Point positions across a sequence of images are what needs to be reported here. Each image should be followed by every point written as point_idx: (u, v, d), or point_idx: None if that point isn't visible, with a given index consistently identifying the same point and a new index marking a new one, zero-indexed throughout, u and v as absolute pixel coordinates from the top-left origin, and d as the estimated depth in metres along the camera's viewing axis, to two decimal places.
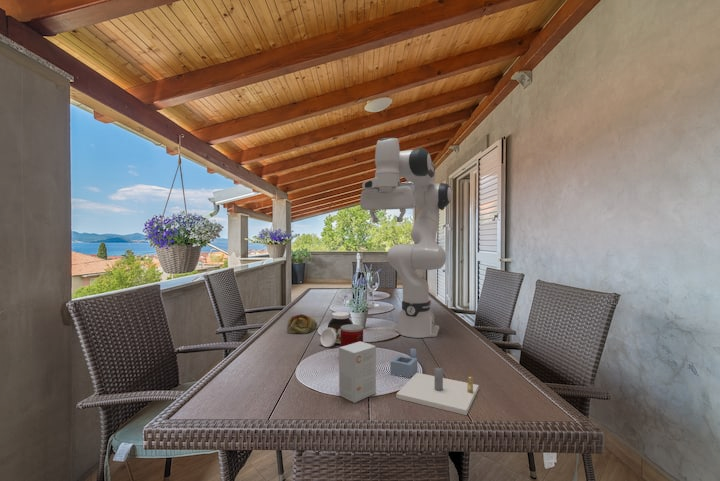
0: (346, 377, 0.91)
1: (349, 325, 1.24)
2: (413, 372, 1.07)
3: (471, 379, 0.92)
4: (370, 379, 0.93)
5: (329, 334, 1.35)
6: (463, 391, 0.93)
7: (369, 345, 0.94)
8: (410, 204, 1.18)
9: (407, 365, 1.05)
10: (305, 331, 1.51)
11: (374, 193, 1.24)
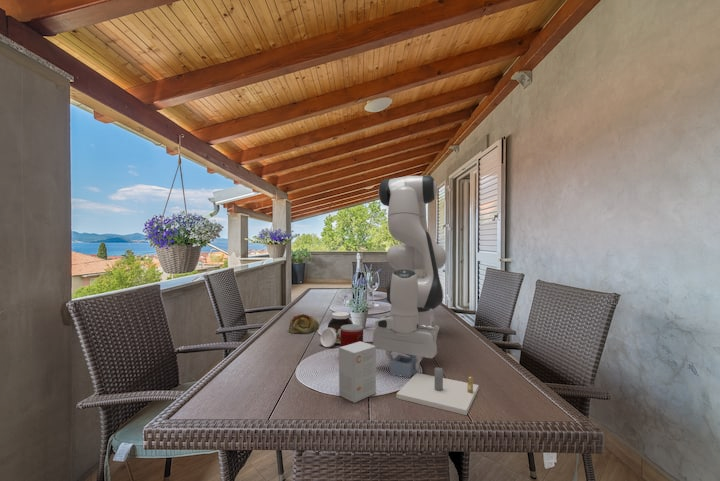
0: (346, 377, 0.91)
1: (349, 325, 1.24)
2: (413, 372, 1.07)
3: (471, 379, 0.92)
4: (370, 379, 0.93)
5: (329, 334, 1.35)
6: (463, 391, 0.93)
7: (369, 345, 0.95)
8: (431, 354, 1.03)
9: (407, 365, 1.05)
10: (307, 331, 1.51)
11: (388, 333, 1.09)
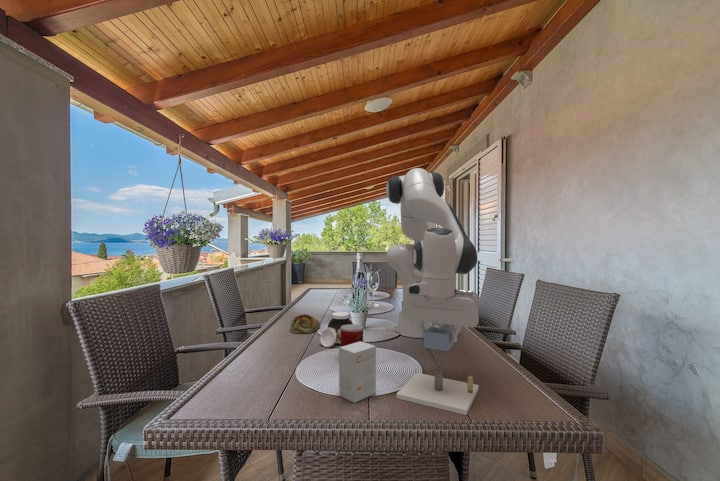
0: (346, 377, 0.91)
1: (349, 325, 1.24)
2: (450, 345, 0.92)
3: (471, 379, 0.92)
4: (370, 379, 0.93)
5: (329, 334, 1.35)
6: (463, 391, 0.93)
7: (369, 345, 0.94)
8: (472, 323, 0.88)
9: (444, 336, 0.90)
10: (309, 331, 1.51)
11: (421, 300, 0.94)
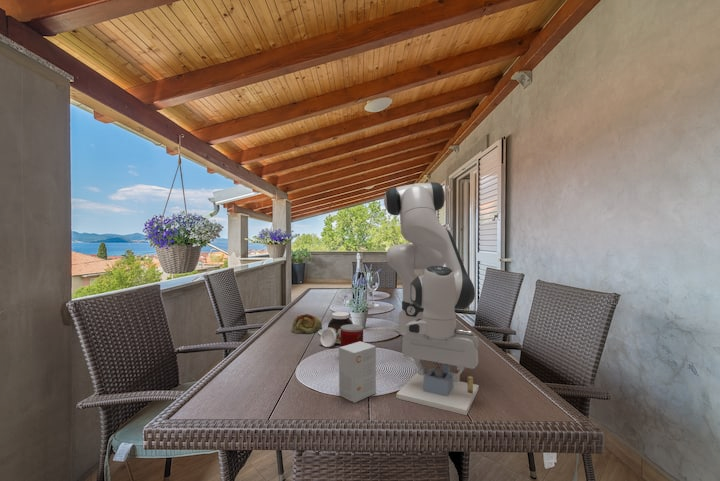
0: (346, 377, 0.91)
1: (349, 325, 1.24)
2: (450, 389, 0.93)
3: (471, 379, 0.92)
4: (370, 379, 0.93)
5: (329, 334, 1.35)
6: (463, 391, 0.93)
7: (369, 345, 0.95)
8: (472, 364, 0.88)
9: (444, 381, 0.90)
10: (311, 331, 1.51)
11: (421, 339, 0.95)
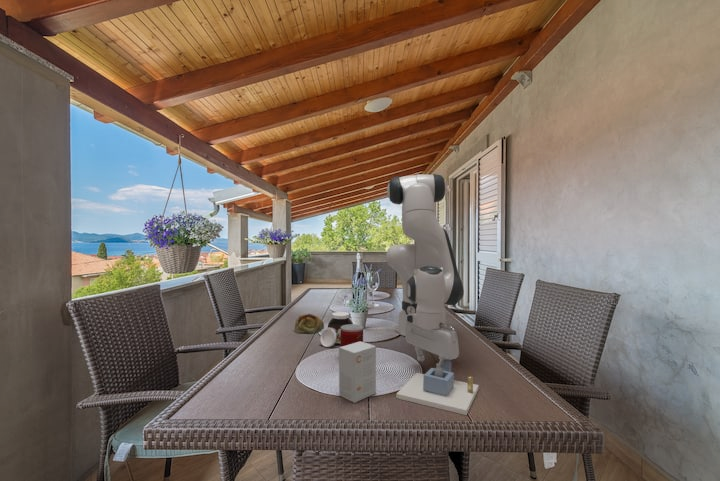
0: (346, 377, 0.91)
1: (349, 325, 1.24)
2: (450, 389, 0.93)
3: (471, 379, 0.92)
4: (370, 379, 0.93)
5: (329, 334, 1.35)
6: (463, 391, 0.93)
7: (369, 345, 0.95)
8: (448, 355, 0.98)
9: (444, 381, 0.90)
10: (313, 331, 1.52)
11: (416, 328, 1.10)
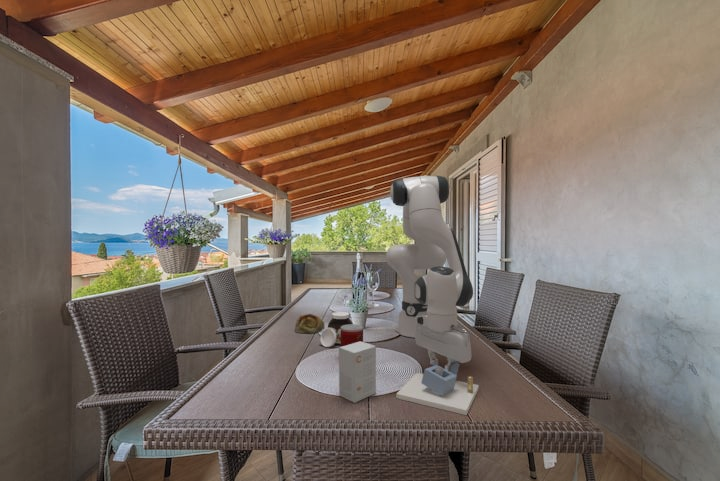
0: (346, 377, 0.91)
1: (349, 325, 1.24)
2: (448, 390, 0.92)
3: (471, 379, 0.92)
4: (370, 379, 0.93)
5: (329, 334, 1.35)
6: (463, 391, 0.93)
7: (369, 345, 0.94)
8: (460, 359, 0.95)
9: (442, 380, 0.90)
10: (314, 331, 1.52)
11: (427, 330, 1.07)
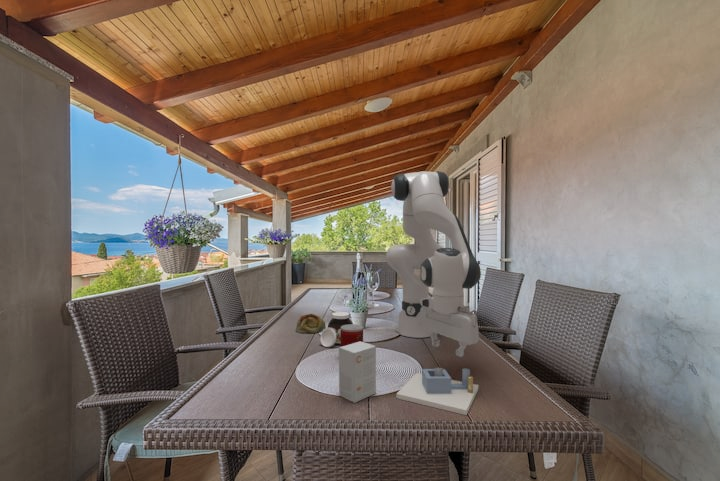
0: (346, 377, 0.91)
1: (349, 325, 1.24)
2: (438, 390, 0.92)
3: (471, 379, 0.92)
4: (370, 379, 0.93)
5: (329, 334, 1.35)
6: (463, 391, 0.93)
7: (369, 345, 0.95)
8: (468, 340, 0.94)
9: (426, 378, 0.93)
10: (315, 330, 1.52)
11: (432, 313, 1.05)
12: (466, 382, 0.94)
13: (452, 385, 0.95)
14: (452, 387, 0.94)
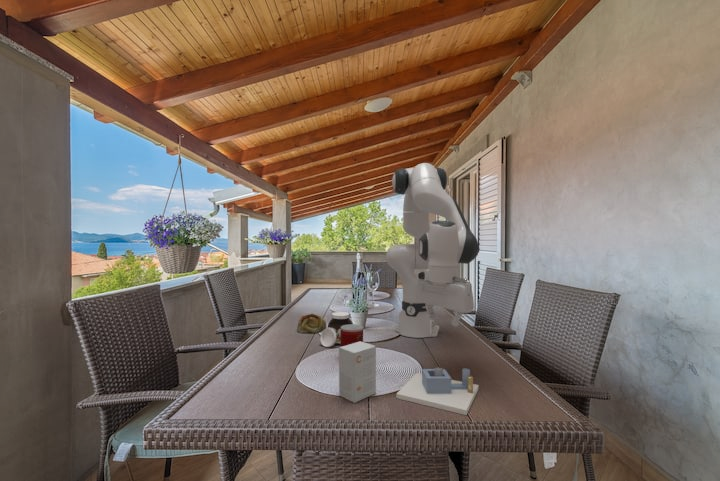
0: (346, 377, 0.91)
1: (349, 325, 1.24)
2: (438, 390, 0.92)
3: (471, 379, 0.92)
4: (370, 379, 0.93)
5: (329, 334, 1.35)
6: (463, 391, 0.93)
7: (369, 345, 0.94)
8: (462, 308, 0.94)
9: (426, 378, 0.93)
10: (316, 330, 1.52)
11: (428, 285, 1.06)
12: (466, 382, 0.94)
13: (452, 385, 0.95)
14: (452, 387, 0.94)
